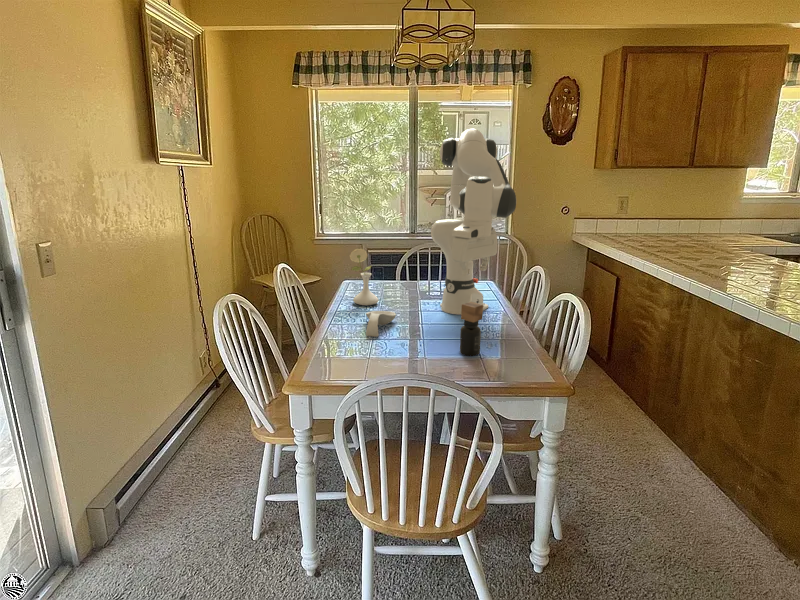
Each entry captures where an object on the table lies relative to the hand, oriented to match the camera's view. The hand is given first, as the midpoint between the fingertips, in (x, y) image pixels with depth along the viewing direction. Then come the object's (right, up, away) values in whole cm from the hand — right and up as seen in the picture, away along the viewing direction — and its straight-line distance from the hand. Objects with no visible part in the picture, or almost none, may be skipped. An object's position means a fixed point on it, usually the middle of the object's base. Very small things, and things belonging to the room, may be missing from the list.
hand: (474, 272), depth 163 cm
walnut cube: (0, -15, +4) cm, 16 cm away
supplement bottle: (-1, -27, +7) cm, 28 cm away
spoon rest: (-32, -20, +32) cm, 50 cm away
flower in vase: (-40, -11, +64) cm, 76 cm away
